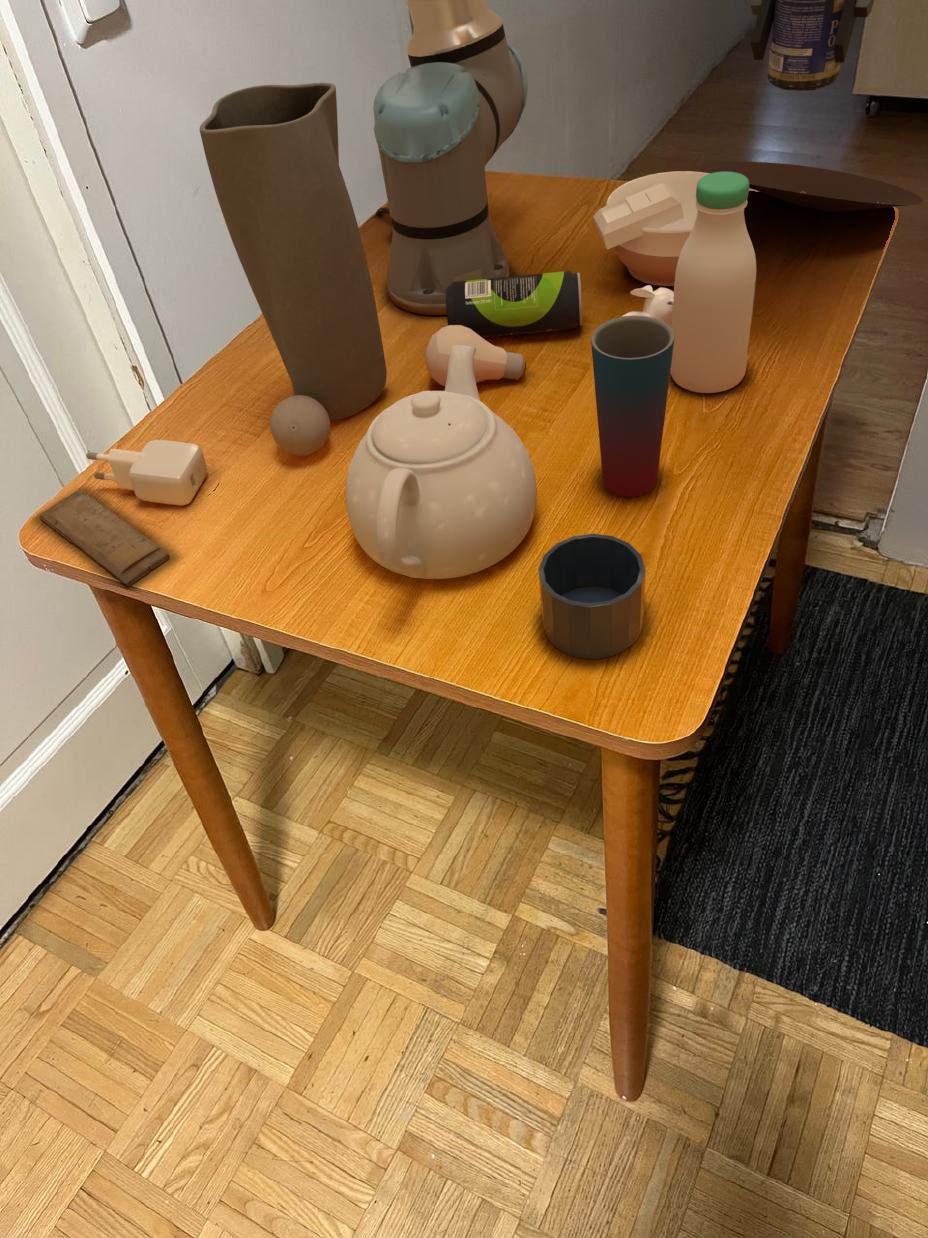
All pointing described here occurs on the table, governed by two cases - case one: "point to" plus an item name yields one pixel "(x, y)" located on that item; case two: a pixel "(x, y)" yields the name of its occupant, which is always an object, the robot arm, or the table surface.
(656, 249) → the bowl
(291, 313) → the vase
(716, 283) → the milk bottle
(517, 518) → the teapot
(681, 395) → the table surface
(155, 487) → the power adapter
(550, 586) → the cylindrical container
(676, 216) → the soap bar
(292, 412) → the ball
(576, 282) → the beverage can
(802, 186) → the plate
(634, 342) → the cup
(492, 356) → the light bulb
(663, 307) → the elephant figurine
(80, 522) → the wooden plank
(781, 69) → the pill bottle
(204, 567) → the table surface
